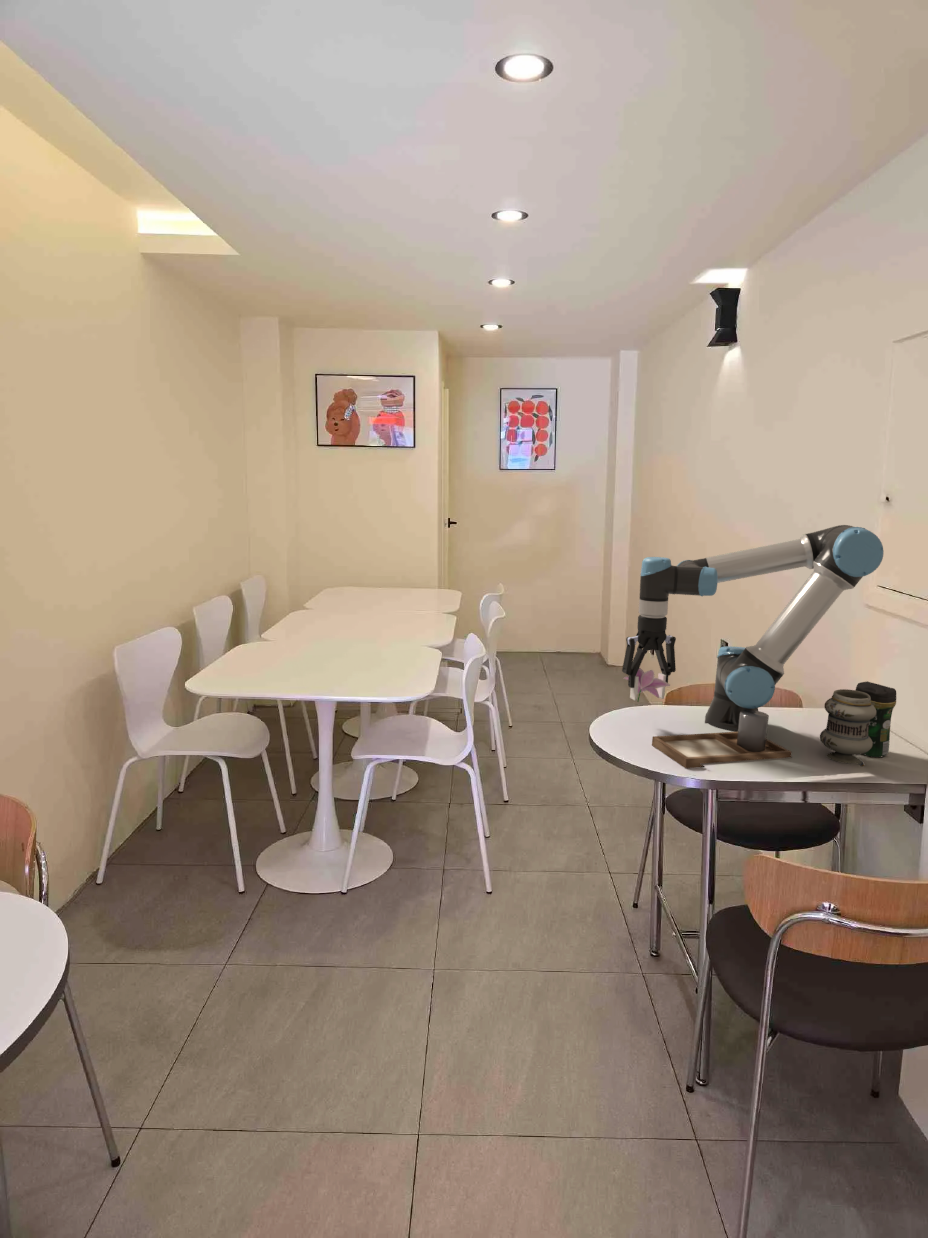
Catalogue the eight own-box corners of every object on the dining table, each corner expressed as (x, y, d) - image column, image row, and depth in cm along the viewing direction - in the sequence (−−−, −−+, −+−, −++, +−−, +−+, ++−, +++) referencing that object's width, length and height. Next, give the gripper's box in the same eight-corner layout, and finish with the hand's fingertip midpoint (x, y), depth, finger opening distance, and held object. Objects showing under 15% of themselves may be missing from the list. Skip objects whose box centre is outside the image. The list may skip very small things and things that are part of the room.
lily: (672, 708, 212) (677, 674, 215) (639, 695, 207) (645, 660, 210) (641, 710, 222) (647, 677, 225) (609, 698, 217) (615, 664, 220)
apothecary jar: (818, 765, 199) (827, 696, 195) (815, 750, 210) (824, 684, 207) (872, 773, 195) (882, 702, 191) (866, 757, 206) (875, 690, 203)
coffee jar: (841, 748, 212) (850, 681, 209) (858, 744, 217) (867, 678, 213) (876, 760, 204) (886, 690, 201) (893, 755, 209) (903, 687, 205)
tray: (750, 739, 217) (751, 730, 216) (790, 761, 201) (791, 751, 201) (651, 745, 209) (652, 736, 208) (685, 768, 193) (686, 759, 193)
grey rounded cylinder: (753, 742, 211) (757, 709, 210) (770, 751, 205) (774, 717, 203) (730, 743, 210) (734, 710, 208) (747, 752, 203) (750, 718, 201)
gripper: (679, 611, 219) (673, 692, 223) (611, 613, 213) (606, 696, 217) (694, 616, 212) (687, 699, 216) (624, 619, 206) (619, 704, 210)
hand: (647, 698), depth 217 cm, fingers closed on lily, 7 cm apart
